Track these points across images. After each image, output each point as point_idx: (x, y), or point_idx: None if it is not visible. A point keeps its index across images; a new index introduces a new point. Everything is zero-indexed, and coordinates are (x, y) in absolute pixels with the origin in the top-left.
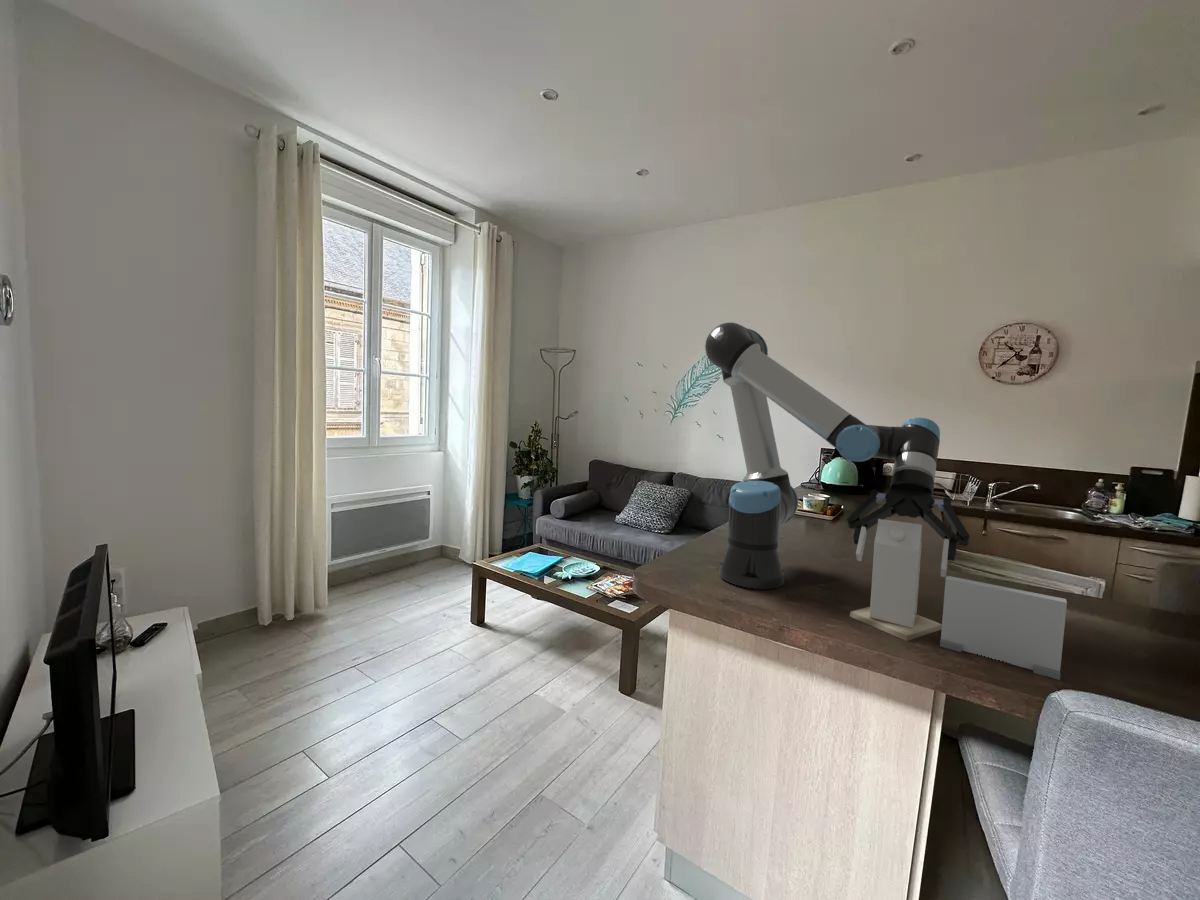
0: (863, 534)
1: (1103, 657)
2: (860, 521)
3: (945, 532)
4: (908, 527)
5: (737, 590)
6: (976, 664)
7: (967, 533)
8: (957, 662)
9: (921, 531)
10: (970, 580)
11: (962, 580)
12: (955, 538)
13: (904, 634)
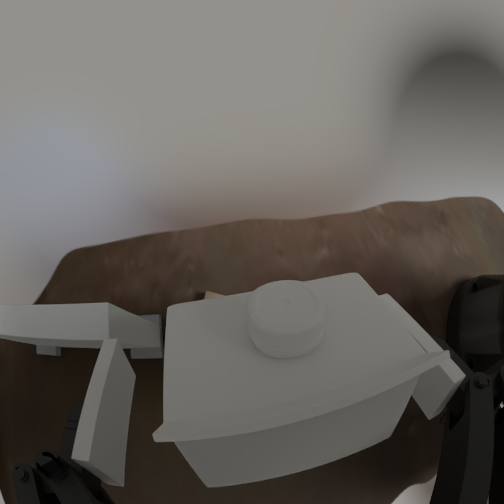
0: (431, 351)
1: (22, 436)
2: (486, 392)
3: (84, 499)
4: (250, 410)
5: (461, 266)
6: (112, 288)
7: (15, 485)
8: (133, 272)
9: (164, 414)
10: (60, 336)
11: (73, 317)
12: (45, 453)
13: (211, 292)
